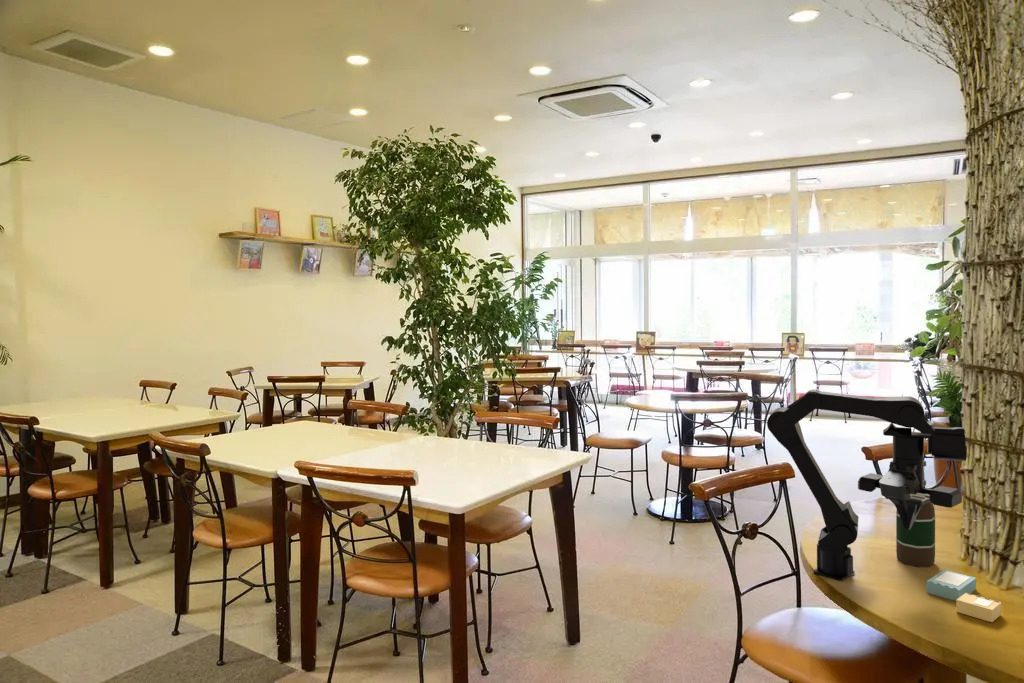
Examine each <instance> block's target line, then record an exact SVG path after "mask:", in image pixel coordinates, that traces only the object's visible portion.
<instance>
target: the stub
mask: <svg viewBox="0 0 1024 683" xmlns="http://www.w3.org/2000/svg"><path fill="white" fill-rule="evenodd" d="M955 602H956V604H955V605H956V608H955V610H956V611H955V612H956V613H959V614H962V615H967V616H970V617H973V618H976V619H980V620H983V621H985V622H989V623H993V622H995V620H997V619H998V618H999V617H1001V616H1002V602H1001V601H999V600H997V599H996V600H993V599H990V598H988V597H983V596H981V595H976V594H973V593H965V594H963V595H962V596H961V597H959V598H958V599H957V600H956V601H955Z"/></svg>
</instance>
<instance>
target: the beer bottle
mask: <svg viewBox="0 0 1024 683" xmlns="http://www.w3.org/2000/svg"><path fill="white" fill-rule="evenodd" d="M924 480H926V479H925V477H924ZM924 488H926V485H925V486H924ZM910 498H911V496H910ZM895 517H896V518H895V519H896V521H895V522H896V523H895V524H896V531H895V532H896V533H895V534H896V537H895V539H896V543H895V545H896V546H895V547H896V549H895V550H896V551H895V552H896V559H897V560H898V561H899V562H900V563H902V564H904V565H906V566H910V567H915V568H930V567H931V566H932V565H933V564H934V563H935V562H936V561H935V560H936V509H935V505H933V503H932V502H931V501H930V502H927V503H925V504H924V505H923V506H922V508H921V509H920V511H919V513H918V515H917V517H916V519H915V521H914V523H913V525H912V527H911V529H910V530H907V529H905V528H904V526H903V523H902V521H901V518H900V516H899V513H898V511H897V510H896V515H895Z"/></svg>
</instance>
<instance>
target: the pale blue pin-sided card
mask: <svg viewBox="0 0 1024 683" xmlns="http://www.w3.org/2000/svg"><path fill="white" fill-rule="evenodd" d="M976 589H977V578H976V577H974V576H971V575H965V574H962V573H958V572H956V571H951V570H946V569H943V570H942V571H940V572H939V573H937V574H935V575H934V576H933V577H931V578H929V579H927V580H926V593H928V594H930V595H934V596H937V597H941V598H945V599H946V600H951V601H955V602H956V600H957V599H958V598H959V597H961V596H962V595H963V594H965V593H970V594H973V592H975V590H976Z"/></svg>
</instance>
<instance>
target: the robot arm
mask: <svg viewBox="0 0 1024 683" xmlns="http://www.w3.org/2000/svg"><path fill="white" fill-rule="evenodd" d="M815 410H821V411H822V410H824V411H830V412H836V413H845V414H852V415H859V416H867V417H873V418H877V419H880V420H883V421H884V422H888V423H890V424H889V425H888V426H887V427H886V428H884V429H883V432H882V434H883V436H888V437H892V460H891V461H889V467H888V468H889V469H888V471H887V472H886V473H884V474H883V475H882V474H877V473H872V472H871V473H870V472H869V473H868V474H865V475H862V476H860V477H859V478H858V481H857V490H859V491H863V492H868V493H871V492H874V491H875V490H876V489H880V495H881V496H883V497H884V498H885V499H886V500H889V501H891V502H892V503H893V505H894V506H895V508H896V512H897V511H898V513H899V516H900V518H901V521H902V523H903V526H904V528H905V529H907V530H910V529H911V527H912V525H913V523H914V521H915V519H916V517H917V515H918V513H919V511H920V509H921V508H922V506H923V505H924V504H925V503H927V502H930V501H931V502H932V504H933V506H938V507H944V508H948V509H950V508H951V509H952V508H953V507H956V506H958V505H959V504H962V503H963V494H962V492H961V490H960V489H959V488H954V487H950V486H943V485H939V486H937V487H935V488H927V487H926V486H927V480H926V479H925V480H924V478H925V467H927V461H925V460H924V459H925V454H924V453H925V439H927V440H926V443H927V444H926V446H927V447H926V448H927V449H926V450H927V451H926V452H927V454H930V455H931V456H932V457H933V459H934V460H944V461H946V460H947V461H959V462H960V461H962V462H967V456H968V446H967V443H966V430H965V428H964V427H961V426H955V427H954V426H953V427H944V426H934V425H933V422H932V421H931V420H929V419H928V417H926V415H925V409H924V407H923V404H922V402H920V401H919V399H917V398H916V397H913V396H909V395H908V396H888V397H887V396H886V397H871V396H869V397H868V396H860V395H853V394H845V393H838V392H836V393H835V392H829V391H822V390H818V389H811V390H808V391H807V392H805V394H804V395H802V396H801V397H799V398H798V399H796V400H794V401H793V402H791V403H790V404H789V405H788V406H786V407H785V406H783V407H781V406H780V407H778V408H775V409H774V410H773V411H772V413H770V414H769V416H768V418H767V420H766V421H767V422H766V425H767V429H768V431H769V432H770V433H771V434H772V436H773V437H774V438H775V440H776V441H777V442H778V443H779V444H780V445H781V446H782V447H783V448H785V449H786V450H787V452H788V453H789V455H790V456H791V458H792V460H793V463H795V465H796V467H797V470H799V472H800V474H801V476H802V478H803V479H804V482H805V483H806V485H807V486H808V488H809V490H810V491H811V493H812V495H813V497H814V498H815V500H816V502H817V504H818V505H819V508H820V511H821V514H822V518H823V522H824V524H825V526H824V527H823V528H821V530H820V532H819V536H818V540H817V543H816V568H814V569H813V570H812V573H814V574H817V575H821V576H823V577H827V578H831V579H833V580H837V581H844V580H845V579H846V578H849V577H850V576H852V575H854V574H855V573H856V572H855V570H854V556H853V555H852V547H849V545H852V544H854V543H855V541H856V540H857V538H858V532H859V515H858V514H856V513H855V511H854V509H853V507H852V504H851V502H850V501H847V502H844V503H843V502H842V501H841V500H840V499H839V498H838V497H837V495H836V494H835V492H834V490H833V489H832V486H831V485H830V483H829V481H828V480H827V478H826V477H825V475H824V473H823V471H822V470H821V469H822V468H820V466H819V464H818V463H817V461H816V459H815V457H814V456H813V454H812V452H811V451H810V449H809V447H808V445H807V443H806V442H805V438H804V434H803V432H802V428H801V425H800V421H802V420H803V419H804V418H805V417H807V416H808V415H810V414H811V413H812V412H814V411H815ZM899 426H900V427H899ZM912 428H914V429H915V430H917V431H912ZM924 486H925V488H924ZM910 496H911V498H910Z"/></svg>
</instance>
